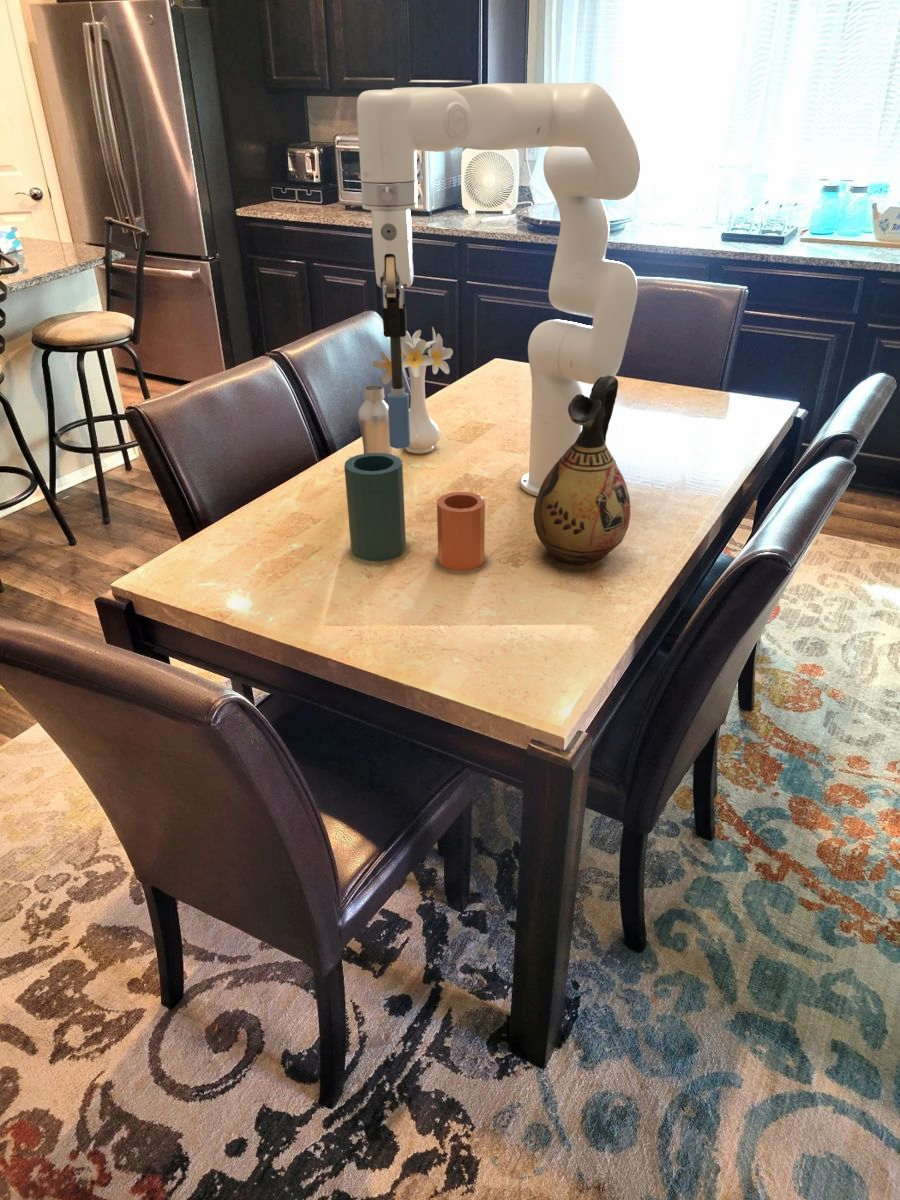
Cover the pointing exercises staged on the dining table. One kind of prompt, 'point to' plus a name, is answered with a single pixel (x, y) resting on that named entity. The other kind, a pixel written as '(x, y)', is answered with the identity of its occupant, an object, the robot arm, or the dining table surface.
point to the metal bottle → (374, 421)
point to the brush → (398, 400)
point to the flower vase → (419, 385)
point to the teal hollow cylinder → (376, 506)
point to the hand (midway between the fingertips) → (395, 333)
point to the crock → (461, 530)
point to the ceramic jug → (585, 488)
